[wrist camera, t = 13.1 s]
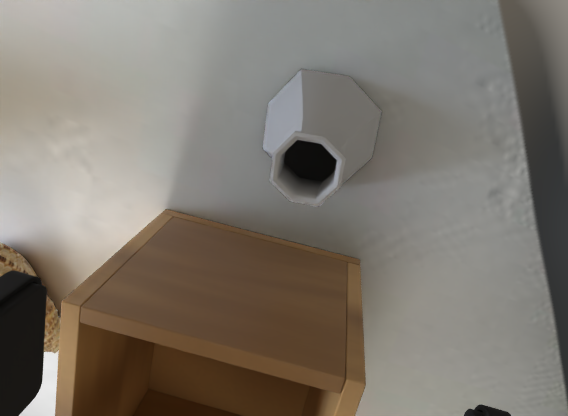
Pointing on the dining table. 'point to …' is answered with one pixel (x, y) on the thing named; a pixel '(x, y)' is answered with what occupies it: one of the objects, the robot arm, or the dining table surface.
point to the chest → (213, 327)
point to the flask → (318, 135)
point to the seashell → (8, 259)
